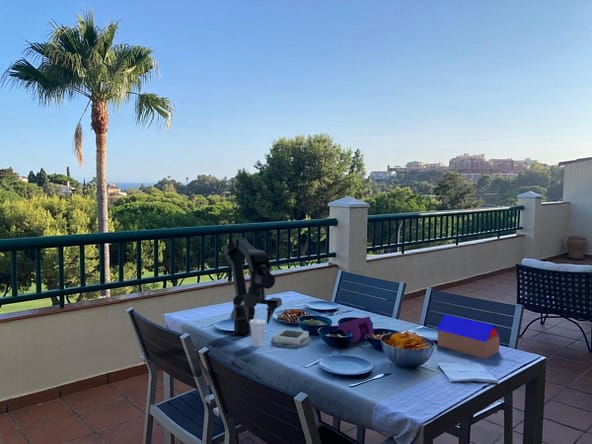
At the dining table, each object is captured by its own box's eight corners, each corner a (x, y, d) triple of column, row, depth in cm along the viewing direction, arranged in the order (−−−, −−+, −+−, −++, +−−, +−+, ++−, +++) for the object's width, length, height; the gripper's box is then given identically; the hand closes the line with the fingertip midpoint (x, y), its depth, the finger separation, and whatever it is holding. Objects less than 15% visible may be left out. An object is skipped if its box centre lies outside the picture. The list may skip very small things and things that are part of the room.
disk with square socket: (265, 345, 181) (265, 337, 181) (280, 333, 196) (280, 326, 196) (304, 350, 176) (304, 342, 176) (316, 337, 191) (316, 330, 191)
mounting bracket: (332, 348, 195) (358, 341, 181) (327, 329, 197) (352, 320, 183) (349, 344, 200) (375, 336, 186) (343, 325, 203) (369, 316, 189)
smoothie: (249, 342, 184) (249, 308, 183) (265, 342, 185) (265, 308, 184) (249, 348, 178) (249, 312, 177) (265, 347, 178) (265, 312, 177)
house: (452, 339, 190) (452, 311, 189) (500, 352, 175) (501, 322, 174) (436, 346, 182) (436, 317, 181) (485, 360, 167) (486, 328, 166)
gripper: (226, 285, 175) (226, 325, 176) (271, 289, 169) (271, 331, 170) (239, 280, 186) (239, 318, 187) (282, 283, 179) (282, 322, 181)
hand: (257, 322), depth 181 cm, fingers open, 9 cm apart
